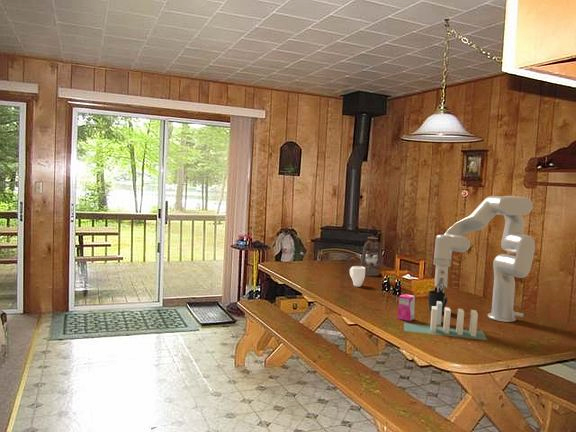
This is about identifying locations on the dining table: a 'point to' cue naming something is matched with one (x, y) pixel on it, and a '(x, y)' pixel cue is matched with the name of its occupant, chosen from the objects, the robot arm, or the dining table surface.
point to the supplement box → (406, 307)
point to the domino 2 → (439, 312)
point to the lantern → (372, 250)
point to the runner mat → (440, 331)
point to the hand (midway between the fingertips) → (438, 298)
